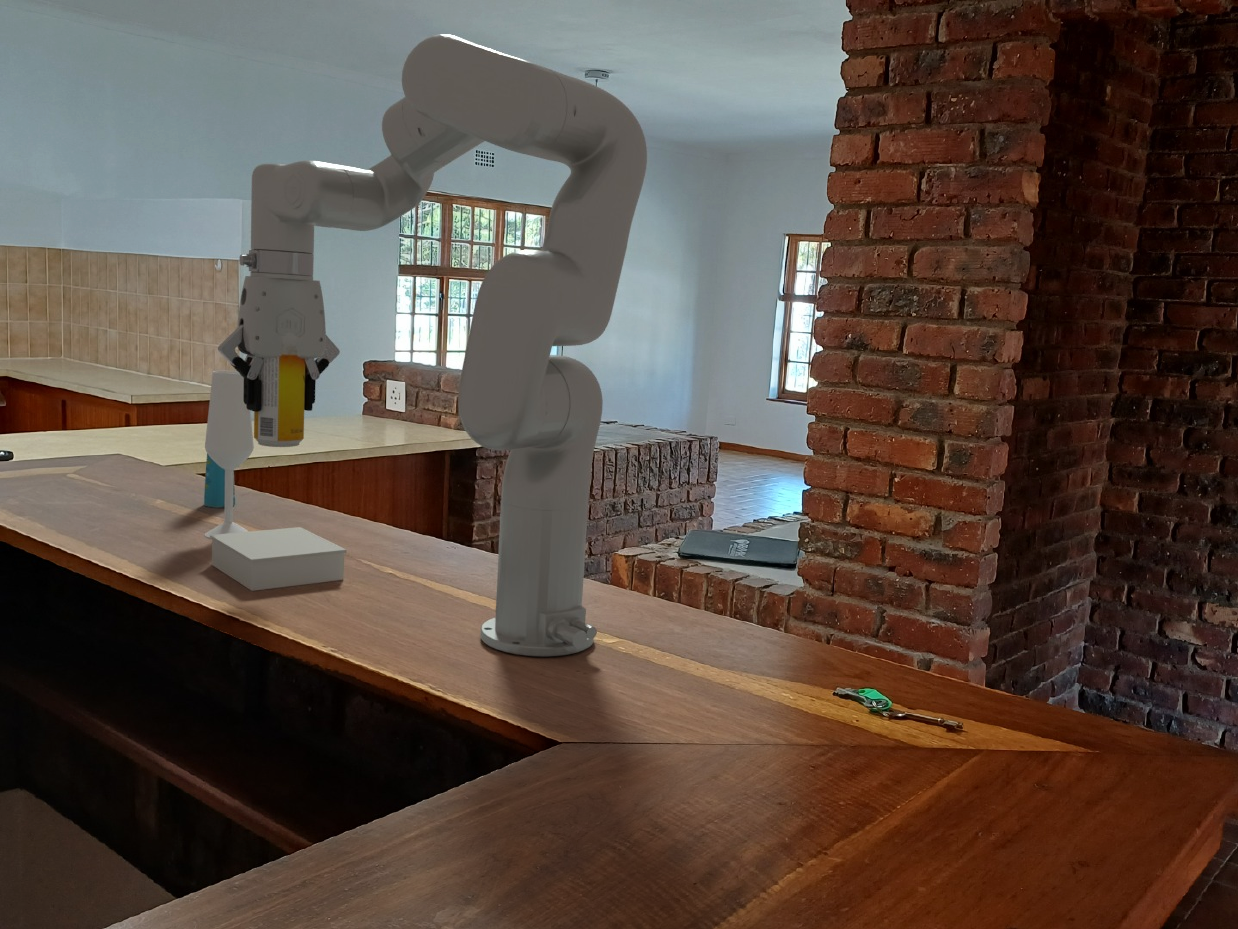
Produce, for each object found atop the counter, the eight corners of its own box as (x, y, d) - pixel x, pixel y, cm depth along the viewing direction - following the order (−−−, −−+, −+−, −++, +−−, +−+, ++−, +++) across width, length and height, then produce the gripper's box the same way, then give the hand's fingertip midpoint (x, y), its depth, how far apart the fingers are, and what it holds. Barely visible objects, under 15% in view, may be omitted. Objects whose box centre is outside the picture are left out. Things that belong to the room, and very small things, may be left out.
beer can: (310, 442, 142) (313, 327, 140) (292, 449, 136) (294, 328, 134) (266, 439, 143) (267, 324, 141) (245, 445, 137) (247, 325, 135)
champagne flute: (202, 539, 157) (203, 372, 153) (206, 529, 163) (207, 369, 159) (251, 539, 158) (253, 375, 155) (253, 529, 165) (255, 371, 161)
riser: (345, 579, 141) (346, 549, 140) (251, 591, 133) (251, 559, 132) (299, 555, 151) (300, 527, 151) (209, 564, 144) (210, 535, 143)
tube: (201, 501, 183) (201, 387, 180) (231, 500, 185) (232, 387, 182) (207, 510, 176) (208, 391, 173) (238, 509, 178) (240, 392, 176)
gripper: (223, 262, 128) (222, 414, 130) (359, 272, 139) (355, 412, 141) (201, 261, 133) (200, 407, 136) (333, 270, 144) (330, 405, 147)
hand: (279, 408), depth 139 cm, fingers closed on beer can, 6 cm apart
